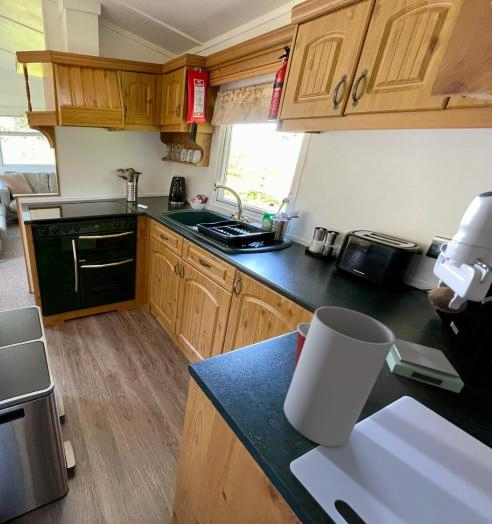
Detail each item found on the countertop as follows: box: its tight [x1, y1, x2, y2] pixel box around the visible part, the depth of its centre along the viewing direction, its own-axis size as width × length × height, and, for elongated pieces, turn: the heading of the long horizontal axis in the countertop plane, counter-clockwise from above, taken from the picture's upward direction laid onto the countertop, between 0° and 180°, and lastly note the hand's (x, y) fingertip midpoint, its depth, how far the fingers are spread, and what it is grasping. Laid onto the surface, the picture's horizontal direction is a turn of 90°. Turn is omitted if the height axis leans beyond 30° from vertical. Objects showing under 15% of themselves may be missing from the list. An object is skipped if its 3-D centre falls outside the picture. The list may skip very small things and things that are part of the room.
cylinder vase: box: [283, 306, 396, 447], centre depth 58 cm, size 12×12×25 cm
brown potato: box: [427, 287, 468, 314], centre depth 80 cm, size 8×8×6 cm
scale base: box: [385, 346, 465, 394], centre depth 82 cm, size 14×14×4 cm
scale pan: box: [392, 337, 460, 378], centre depth 81 cm, size 12×12×1 cm
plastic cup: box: [295, 322, 311, 368], centre depth 76 cm, size 11×11×12 cm
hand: (445, 301), depth 79 cm, fingers closed on brown potato, 6 cm apart
